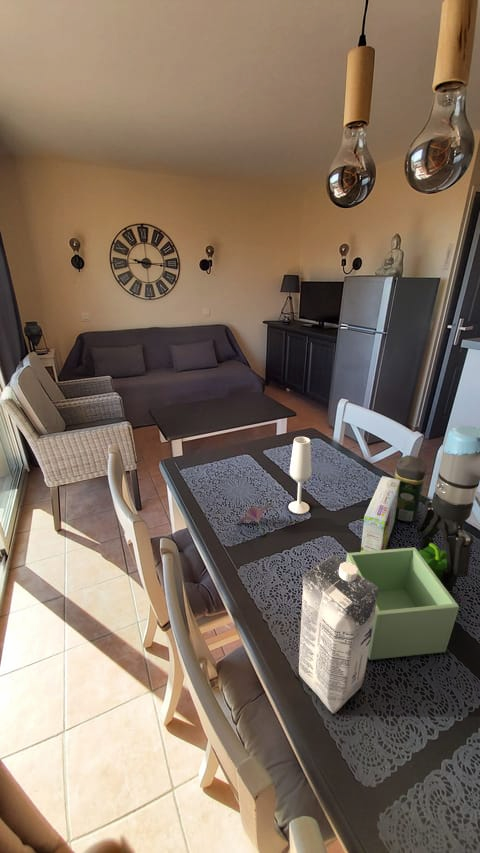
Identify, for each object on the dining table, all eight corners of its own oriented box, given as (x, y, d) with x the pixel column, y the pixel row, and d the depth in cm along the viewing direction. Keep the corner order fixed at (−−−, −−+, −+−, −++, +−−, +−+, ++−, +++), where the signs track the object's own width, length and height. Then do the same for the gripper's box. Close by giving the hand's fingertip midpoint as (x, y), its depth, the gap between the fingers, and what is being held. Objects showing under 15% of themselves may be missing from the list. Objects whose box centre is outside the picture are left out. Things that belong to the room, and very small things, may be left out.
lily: (280, 521, 111) (269, 492, 111) (282, 533, 99) (270, 501, 99) (243, 534, 112) (233, 505, 112) (241, 547, 100) (229, 515, 100)
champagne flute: (286, 511, 114) (288, 443, 104) (290, 499, 120) (292, 434, 110) (308, 515, 112) (312, 446, 102) (310, 502, 118) (314, 436, 108)
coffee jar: (391, 501, 117) (399, 451, 110) (418, 508, 114) (428, 456, 106) (386, 518, 109) (395, 465, 102) (415, 526, 106) (426, 471, 98)
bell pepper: (458, 596, 83) (468, 563, 79) (422, 596, 84) (430, 563, 80) (441, 568, 91) (449, 537, 87) (408, 568, 91) (414, 537, 87)
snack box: (375, 517, 110) (381, 474, 104) (394, 522, 108) (402, 479, 101) (357, 562, 94) (363, 515, 88) (379, 570, 91) (388, 522, 85)
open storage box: (406, 588, 86) (414, 547, 81) (445, 652, 72) (459, 606, 66) (342, 594, 85) (346, 553, 80) (369, 660, 71) (377, 614, 65)
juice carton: (334, 725, 61) (349, 612, 50) (291, 673, 69) (296, 566, 58) (367, 691, 65) (387, 581, 55) (323, 646, 73) (333, 542, 62)
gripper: (411, 472, 87) (397, 545, 96) (469, 530, 67) (445, 615, 77) (441, 469, 87) (424, 543, 96) (507, 527, 68) (479, 611, 77)
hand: (433, 574), depth 87 cm, fingers closed on bell pepper, 8 cm apart
